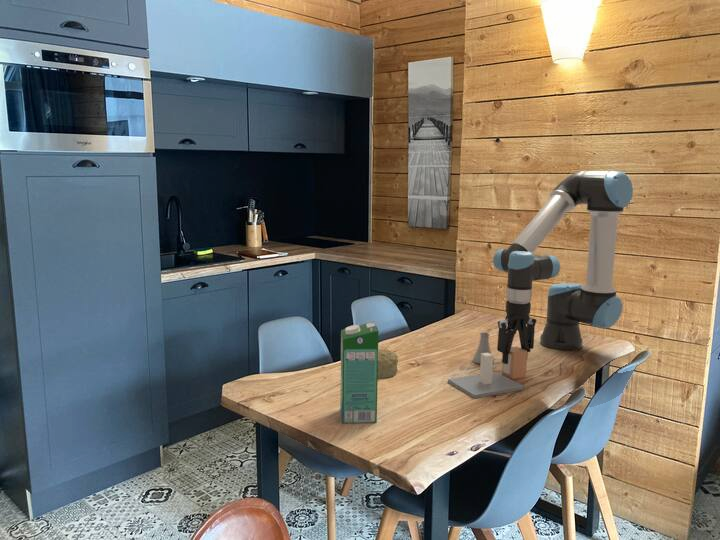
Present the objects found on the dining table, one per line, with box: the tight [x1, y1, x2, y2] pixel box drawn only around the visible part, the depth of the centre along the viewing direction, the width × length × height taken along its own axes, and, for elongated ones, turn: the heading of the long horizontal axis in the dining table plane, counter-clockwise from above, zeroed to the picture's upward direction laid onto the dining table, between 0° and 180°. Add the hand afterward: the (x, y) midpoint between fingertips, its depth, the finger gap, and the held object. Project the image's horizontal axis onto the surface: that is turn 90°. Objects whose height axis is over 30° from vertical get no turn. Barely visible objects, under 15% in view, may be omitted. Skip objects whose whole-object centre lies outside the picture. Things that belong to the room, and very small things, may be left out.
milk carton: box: [339, 321, 379, 424], centre depth 160 cm, size 9×9×25 cm
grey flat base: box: [447, 353, 525, 399], centre depth 185 cm, size 18×14×10 cm
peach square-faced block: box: [501, 346, 528, 380], centre depth 194 cm, size 5×5×9 cm
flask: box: [472, 331, 495, 365], centre depth 207 cm, size 7×7×10 cm
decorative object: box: [378, 348, 399, 379], centre depth 195 cm, size 9×10×10 cm
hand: (514, 371), depth 195 cm, fingers closed on peach square-faced block, 5 cm apart
